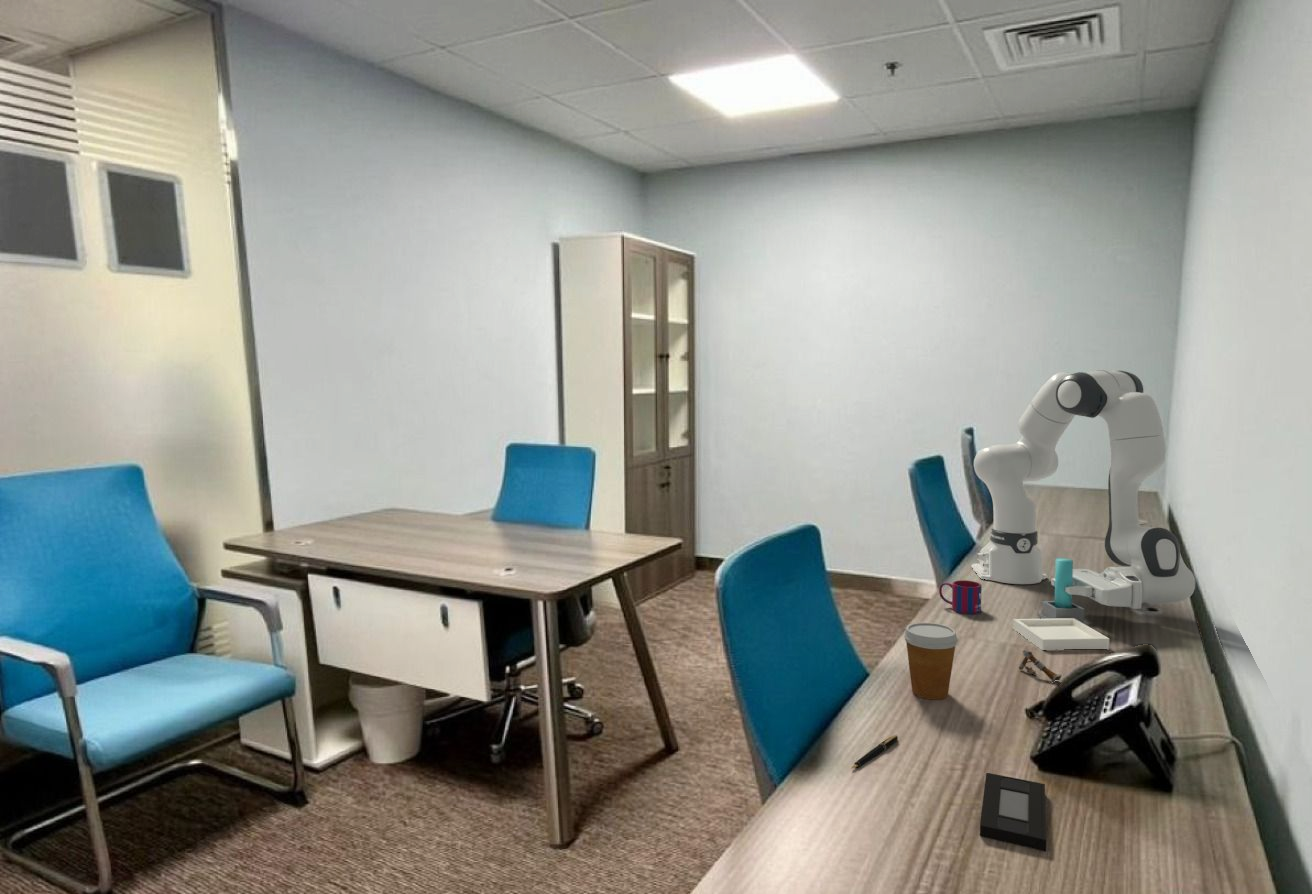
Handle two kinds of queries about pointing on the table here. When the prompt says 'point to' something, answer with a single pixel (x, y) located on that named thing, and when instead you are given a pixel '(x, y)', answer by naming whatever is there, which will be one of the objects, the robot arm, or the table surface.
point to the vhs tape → (1014, 811)
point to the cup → (964, 596)
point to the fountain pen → (876, 751)
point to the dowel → (1063, 582)
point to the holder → (1062, 612)
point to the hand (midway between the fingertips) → (1059, 586)
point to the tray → (1060, 634)
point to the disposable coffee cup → (930, 658)
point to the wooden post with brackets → (1038, 664)
